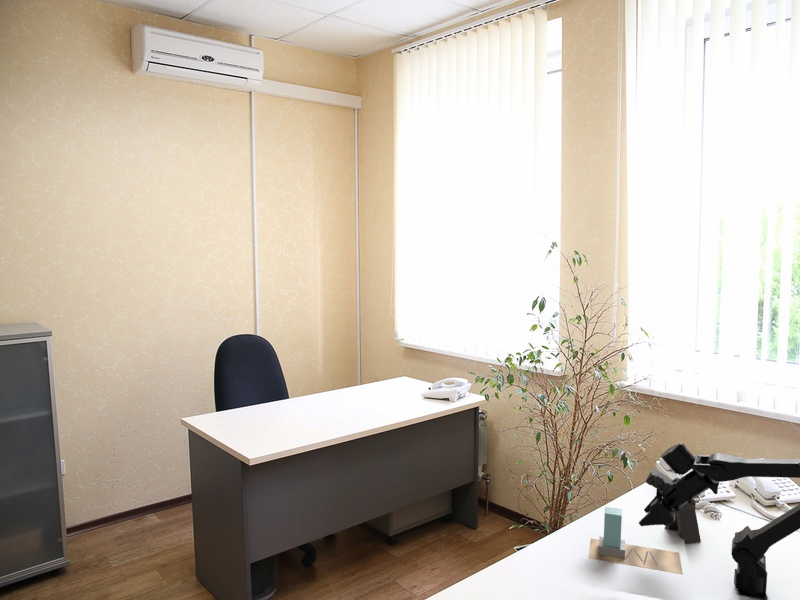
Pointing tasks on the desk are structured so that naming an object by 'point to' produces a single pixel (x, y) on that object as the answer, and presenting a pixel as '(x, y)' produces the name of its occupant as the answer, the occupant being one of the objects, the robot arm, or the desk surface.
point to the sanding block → (612, 534)
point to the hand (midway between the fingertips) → (642, 517)
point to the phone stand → (686, 523)
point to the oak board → (641, 557)
